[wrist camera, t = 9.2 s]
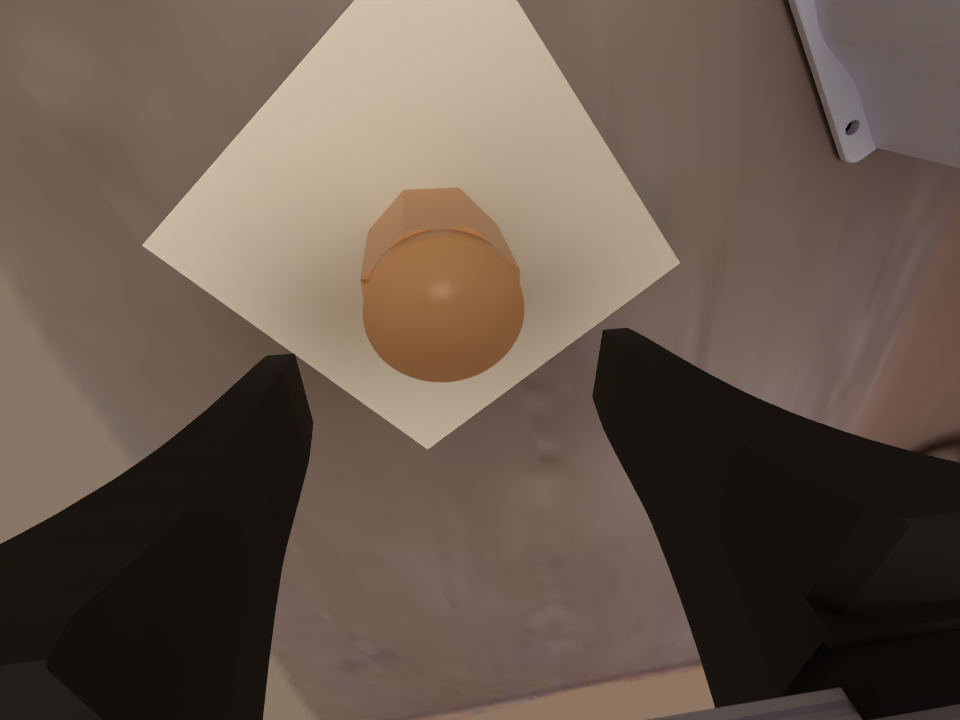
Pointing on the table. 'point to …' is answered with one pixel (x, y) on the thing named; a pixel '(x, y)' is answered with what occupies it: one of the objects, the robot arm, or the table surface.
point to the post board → (415, 165)
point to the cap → (440, 287)
